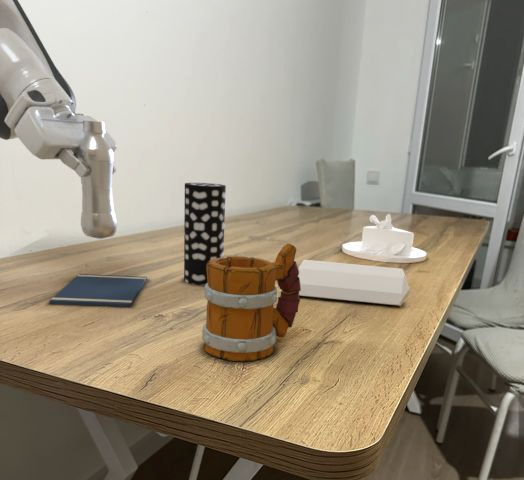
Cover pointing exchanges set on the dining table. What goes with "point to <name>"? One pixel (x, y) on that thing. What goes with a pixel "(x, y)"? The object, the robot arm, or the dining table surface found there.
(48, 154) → the robot arm
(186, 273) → the white-spotted black cylinder
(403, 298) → the white hexagonal prism
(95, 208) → the silver metal bottle
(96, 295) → the towel
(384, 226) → the dish
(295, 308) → the mug
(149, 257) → the dining table surface
